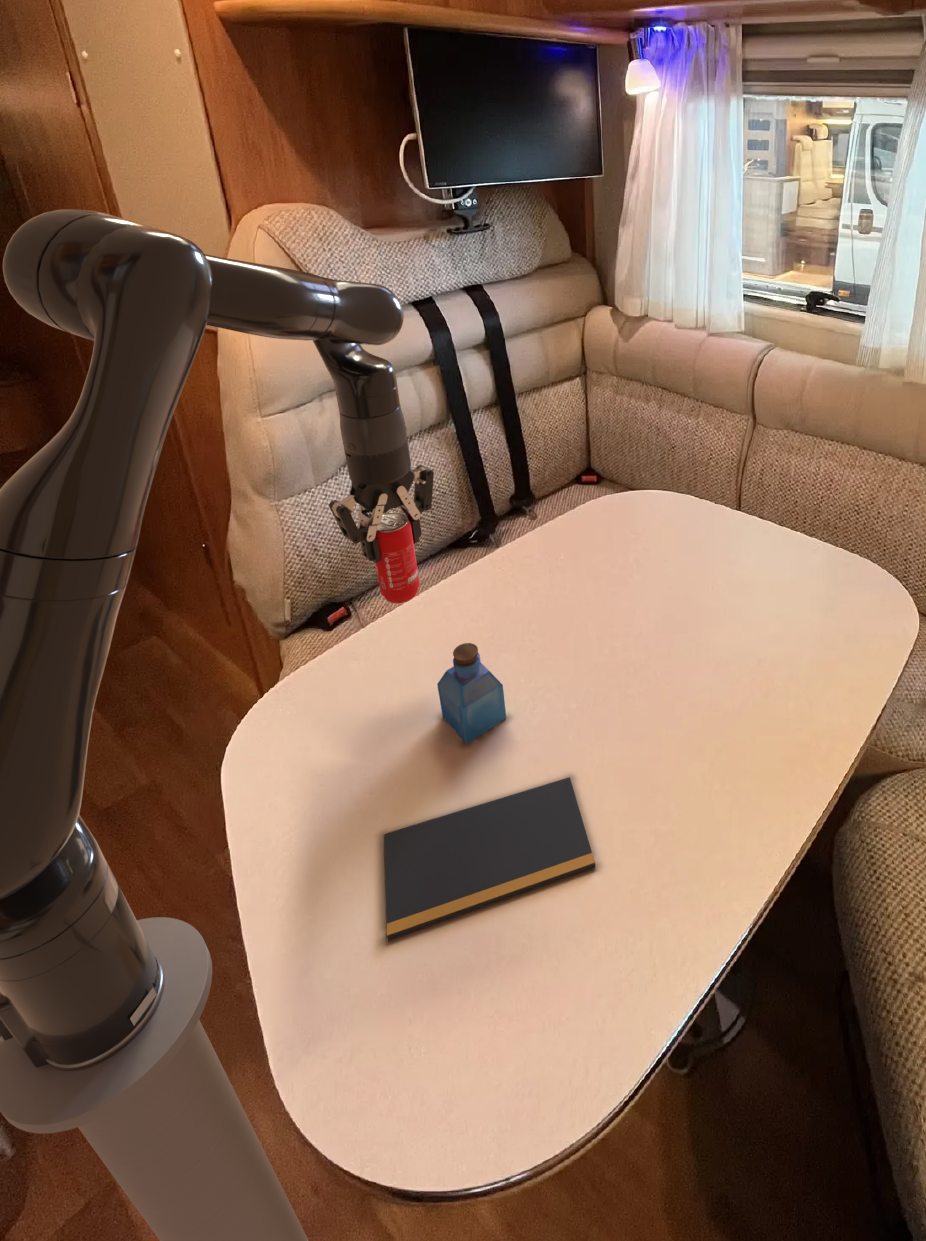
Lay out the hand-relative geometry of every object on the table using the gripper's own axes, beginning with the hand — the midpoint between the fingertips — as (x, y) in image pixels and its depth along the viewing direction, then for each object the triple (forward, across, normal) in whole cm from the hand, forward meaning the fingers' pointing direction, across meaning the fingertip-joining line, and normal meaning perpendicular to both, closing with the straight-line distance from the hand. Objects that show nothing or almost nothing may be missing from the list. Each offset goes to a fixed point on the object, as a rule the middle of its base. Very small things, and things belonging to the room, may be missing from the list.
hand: (393, 549), depth 99 cm
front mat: (+21, +11, +31) cm, 40 cm away
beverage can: (+8, 0, 0) cm, 8 cm away
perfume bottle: (+21, 0, +15) cm, 26 cm away
